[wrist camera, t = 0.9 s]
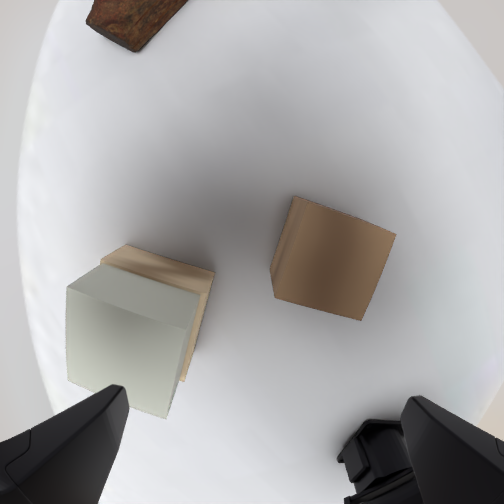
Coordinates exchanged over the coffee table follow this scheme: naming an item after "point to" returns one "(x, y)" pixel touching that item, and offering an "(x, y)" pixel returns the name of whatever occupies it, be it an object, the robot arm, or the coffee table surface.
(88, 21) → the brick
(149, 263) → the tower base
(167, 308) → the tower top
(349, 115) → the coffee table surface
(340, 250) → the walnut block
